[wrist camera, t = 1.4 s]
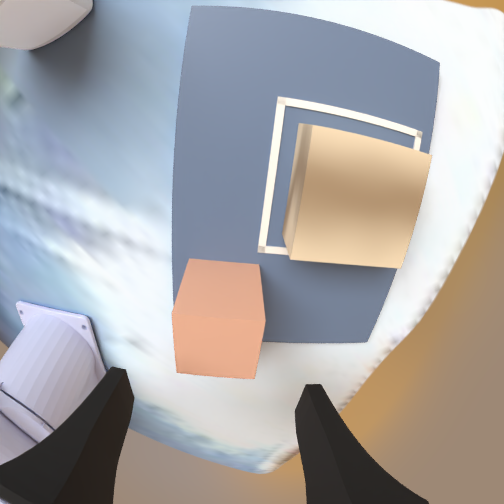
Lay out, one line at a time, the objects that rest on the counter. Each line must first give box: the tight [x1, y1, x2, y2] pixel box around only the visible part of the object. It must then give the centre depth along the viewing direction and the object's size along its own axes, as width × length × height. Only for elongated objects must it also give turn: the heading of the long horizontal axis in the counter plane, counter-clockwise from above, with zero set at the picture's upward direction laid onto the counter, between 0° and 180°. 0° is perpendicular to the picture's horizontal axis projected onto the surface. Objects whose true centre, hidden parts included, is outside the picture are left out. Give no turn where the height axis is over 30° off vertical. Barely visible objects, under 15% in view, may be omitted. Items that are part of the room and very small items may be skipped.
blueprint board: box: [172, 6, 440, 343], centre depth 15 cm, size 20×14×1 cm
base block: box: [282, 123, 432, 269], centre depth 13 cm, size 6×6×3 cm
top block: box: [172, 258, 266, 379], centre depth 15 cm, size 4×4×5 cm
